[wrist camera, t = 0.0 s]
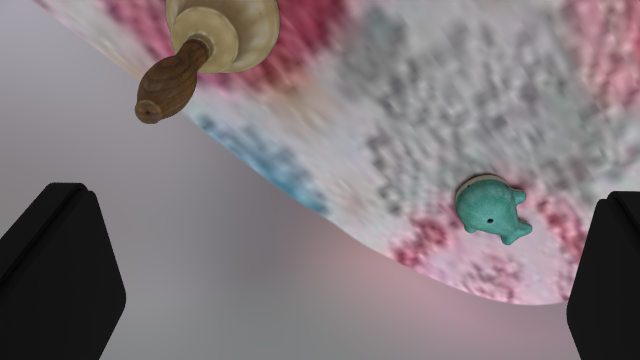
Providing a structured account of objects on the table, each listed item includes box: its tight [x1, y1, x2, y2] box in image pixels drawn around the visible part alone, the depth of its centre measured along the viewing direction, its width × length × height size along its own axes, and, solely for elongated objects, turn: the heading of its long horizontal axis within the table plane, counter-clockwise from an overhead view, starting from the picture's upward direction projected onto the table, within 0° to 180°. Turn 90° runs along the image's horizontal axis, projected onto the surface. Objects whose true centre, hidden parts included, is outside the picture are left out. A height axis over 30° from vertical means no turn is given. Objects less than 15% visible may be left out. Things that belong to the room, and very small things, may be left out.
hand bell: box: [135, 0, 280, 124], centre depth 34 cm, size 8×8×16 cm
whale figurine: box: [455, 175, 532, 245], centre depth 46 cm, size 6×7×4 cm
